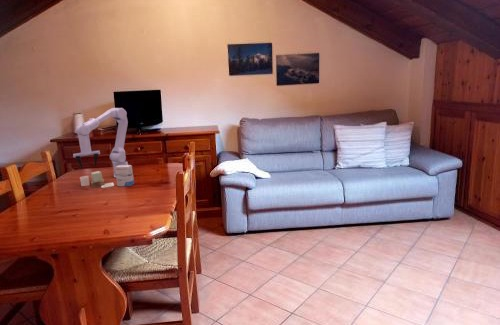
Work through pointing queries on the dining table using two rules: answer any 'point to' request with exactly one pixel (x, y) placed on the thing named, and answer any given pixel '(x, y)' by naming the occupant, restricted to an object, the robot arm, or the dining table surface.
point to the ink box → (124, 175)
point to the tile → (108, 185)
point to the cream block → (84, 180)
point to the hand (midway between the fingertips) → (88, 167)
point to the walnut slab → (97, 183)
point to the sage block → (96, 176)
